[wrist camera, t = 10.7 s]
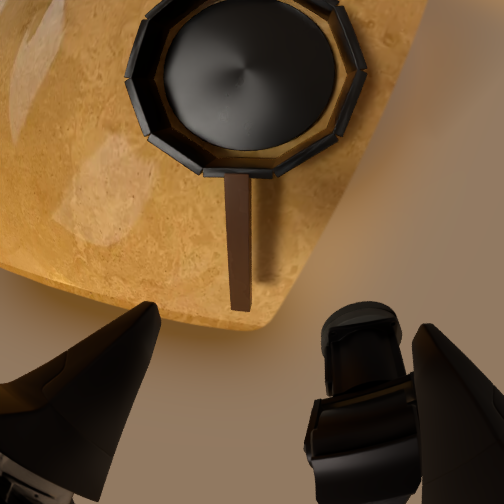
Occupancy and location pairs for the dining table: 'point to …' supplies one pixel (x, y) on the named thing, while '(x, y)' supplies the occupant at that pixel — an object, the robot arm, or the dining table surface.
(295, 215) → the dining table surface
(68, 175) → the dining table surface
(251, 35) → the frying pan
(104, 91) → the dining table surface
